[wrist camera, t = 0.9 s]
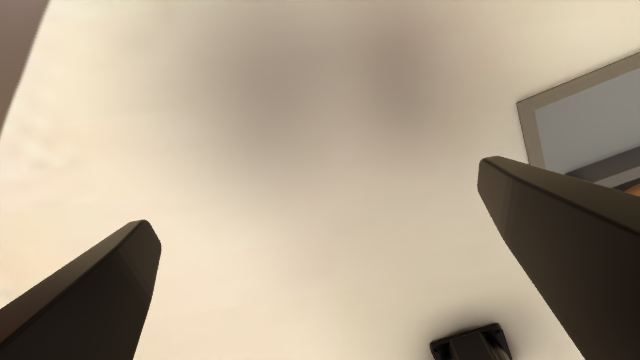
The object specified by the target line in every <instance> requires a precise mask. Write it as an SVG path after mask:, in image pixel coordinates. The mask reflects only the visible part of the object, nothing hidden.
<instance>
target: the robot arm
mask: <svg viewBox="0 0 640 360" xmlns="http://www.w3.org/2000/svg"><path fill="white" fill-rule="evenodd" d="M477 187H478V192H479V194H480V196H481V198H482V200H483V202H484V204H485V206H486V208H487V210H488V212H489V214H490V216H491V217H492V219H493V221H494V223H495V225H496V227H497V229H498V231H499V233H500V234H501V236H502V238H503V240H504V241H505V243H506V244H507V246H508V247H509V249H510V250H511V252H512V253H513V255H514V256H515V258H516V259H517V261H518V262H519V264H520V265H521V266H522V268H523V269H524V271H525V272H526V274H527V275H528V277H529V278H530V280H531V281H532V283H533V284H534V285H535V287H536V288H537V290H538V291H539V293H540V294H541V296H542V297H543V299H544V300H545V302H546V303H547V304H548V306H549V307H550V309H551V310H552V312H553V313H554V315H555V316H556V318H557V319H558V320H559V322H560V323H561V325H562V326H563V328H564V329H565V331H566V332H567V334H568V335H569V337H570V338H571V339H572V341H573V342H574V344H575V345H576V347H577V348H578V350H579V351H580V353H581V354H582V356H583V357H584V358H585V360H640V196H637V195H633V194H630V193H626V192H623V191H619V190H616V189H612V188H609V187H605V186H602V185H598V184H595V183H591V182H588V181H584V180H581V179H577V178H574V177H570V176H567V175H563V174H560V173H556V172H553V171H549V170H546V169H542V168H539V167H536V166H532V165H529V164H525V163H522V162H518V161H515V160H511V159H508V158H504V157H501V156H492V157H487V158H483V159H482V160H481V161H480V163H479V173H478V184H477ZM160 255H161V243H160V240H159V239H158V237H157V235H156V233H155V231H154V230H153V228H152V226H151V224H150V223H149V222H148V221H147V220H138V221H132V222H129V223H128V224H126V225H125V226H123V227H122V228H120V229H119V230H117V231H116V232H114V233H113V234H111V235H110V236H108V237H107V238H105V239H104V240H102V241H101V242H99V243H98V244H96V245H95V246H93V247H92V248H91V249H89V250H88V251H86V252H85V253H83V254H82V255H80V256H79V257H77V258H76V259H74V260H73V261H71V262H70V263H68V264H67V265H65V266H64V267H62V268H61V269H59V270H58V271H56V272H55V273H53V274H52V275H50V276H49V277H47V278H46V279H44V280H43V281H41V282H40V283H38V284H37V285H35V286H34V287H33V288H31V289H30V290H28V291H27V292H25V293H24V294H22V295H21V296H19V297H18V298H16V299H15V300H13V301H12V302H10V303H9V304H7V305H6V306H4V307H3V308H1V309H0V360H133V358H134V354H135V351H136V348H137V345H138V342H139V339H140V335H141V332H142V329H143V326H144V323H145V319H146V316H147V313H148V310H149V307H150V303H151V299H152V295H153V291H154V285H155V280H156V275H157V270H158V265H159V260H160ZM430 350H431V352H432V354H433V357H434V359H435V360H512V357H511V354H510V351H509V348H508V345H507V342H506V338H505V335H504V332H503V330H502V328H501V326H500V325H498V324H493V325H490V326H487V327H483V328H480V329H477V330H473V331H470V332H467V333H464V334H460V335H457V336H454V337H450V338H447V339H444V340H440V341H437V342H434V343H432V344H430Z"/></svg>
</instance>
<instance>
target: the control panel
mask: <svg viewBox="0 0 640 360" xmlns="http://www.w3.org/2000/svg"><path fill="white" fill-rule="evenodd" d="M517 108H518V113H519V117H520V122H521V126H522V131H523V136H524V140H525V145H526V150H527V154H528V159H529V163H530V165H532V166H536V167H539V168H542V169H546V170H549V171H553V172H556V173H560V174H563V175H567V176H570V177H574V178H577V179H581V180H584V181H588V182H591V183H595V184H598V185H602V186H605V187H609V188H612V189H616V190H619V191H623V192H625V191H626V190H627V189H629V188H631V187H633V186H635V185H637V184H640V52H639V53H637V54H634V55H632V56H630V57H627V58H625V59H622V60H620V61H618V62H615V63H613V64H610V65H608V66H605V67H603V68H601V69H598V70H596V71H593V72H591V73H589V74H586V75H584V76H581V77H579V78H577V79H574V80H572V81H569V82H567V83H564V84H562V85H560V86H557V87H555V88H552V89H550V90H548V91H545V92H543V93H540V94H538V95H536V96H533V97H531V98H528V99H526V100H523V101H521V102H519V103H517Z"/></svg>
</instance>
